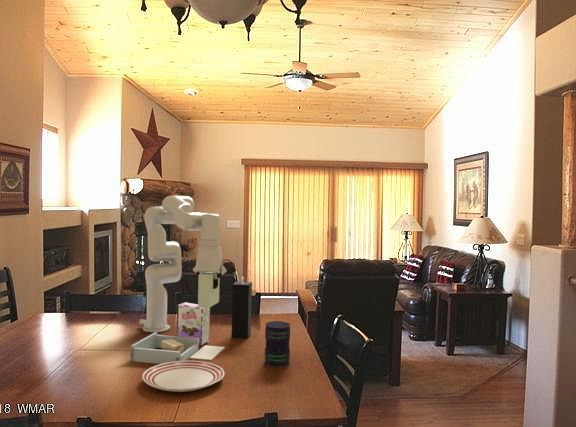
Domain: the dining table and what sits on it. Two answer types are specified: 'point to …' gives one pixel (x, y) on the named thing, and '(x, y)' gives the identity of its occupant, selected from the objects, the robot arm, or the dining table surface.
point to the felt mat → (207, 352)
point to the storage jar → (277, 344)
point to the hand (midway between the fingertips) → (209, 287)
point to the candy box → (193, 322)
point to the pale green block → (207, 290)
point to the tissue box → (241, 309)
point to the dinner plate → (183, 375)
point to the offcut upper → (172, 345)
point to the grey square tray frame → (148, 354)
